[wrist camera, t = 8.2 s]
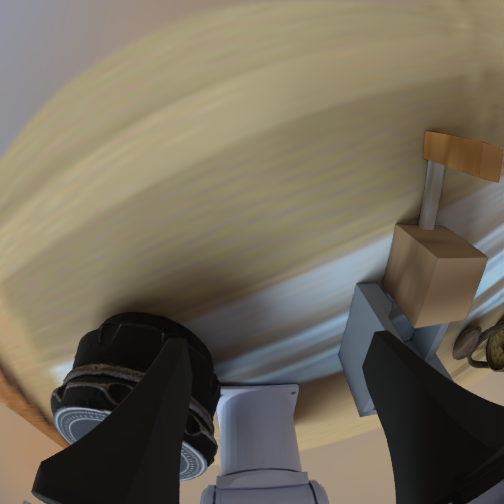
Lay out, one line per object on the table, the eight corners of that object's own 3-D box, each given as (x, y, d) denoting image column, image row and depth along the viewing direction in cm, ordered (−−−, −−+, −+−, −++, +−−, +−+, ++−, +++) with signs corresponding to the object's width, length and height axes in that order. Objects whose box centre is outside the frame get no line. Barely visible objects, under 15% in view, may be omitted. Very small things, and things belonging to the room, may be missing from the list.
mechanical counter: (494, 394, 24) (548, 349, 19) (462, 399, 20) (537, 339, 15) (477, 354, 30) (526, 309, 24) (441, 345, 26) (505, 285, 20)
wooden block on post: (430, 281, 21) (468, 323, 16) (382, 284, 21) (417, 333, 16) (458, 140, 16) (515, 154, 11) (408, 126, 16) (466, 136, 10)
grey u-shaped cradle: (422, 343, 25) (453, 391, 18) (338, 355, 24) (360, 417, 18) (448, 278, 21) (493, 325, 15) (356, 283, 21) (394, 345, 15)
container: (76, 290, 20) (16, 377, 11) (231, 316, 22) (229, 430, 13) (99, 386, 26) (73, 461, 17) (216, 407, 27) (213, 491, 18)
